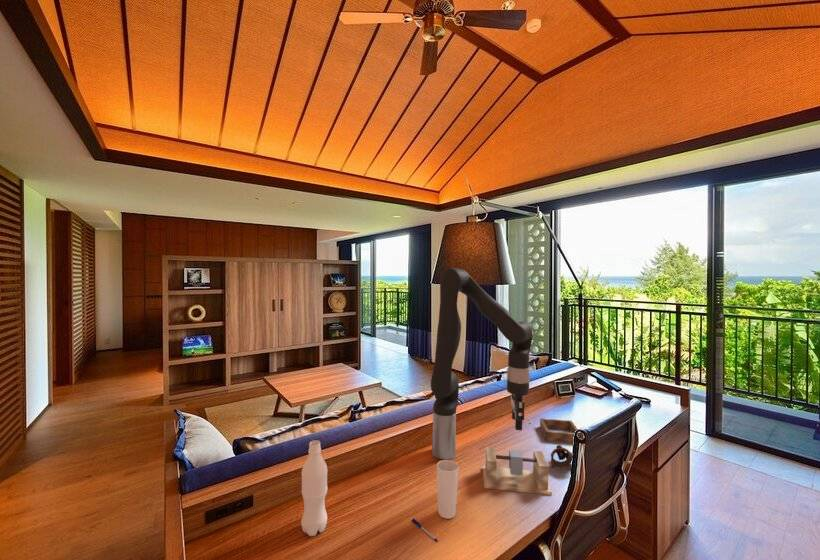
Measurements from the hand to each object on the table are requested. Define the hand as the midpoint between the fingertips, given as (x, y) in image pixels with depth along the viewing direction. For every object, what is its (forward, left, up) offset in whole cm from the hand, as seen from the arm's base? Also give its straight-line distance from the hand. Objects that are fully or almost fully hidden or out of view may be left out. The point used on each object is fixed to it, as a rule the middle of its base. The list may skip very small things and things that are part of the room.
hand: (516, 424), depth 124 cm
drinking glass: (-23, -21, -20) cm, 37 cm away
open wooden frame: (+25, +40, -20) cm, 51 cm away
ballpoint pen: (-29, -29, -21) cm, 46 cm away
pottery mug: (+20, +13, -21) cm, 31 cm away
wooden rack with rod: (0, 0, -20) cm, 20 cm away
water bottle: (-60, -34, -20) cm, 72 cm away
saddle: (0, 0, -17) cm, 17 cm away
